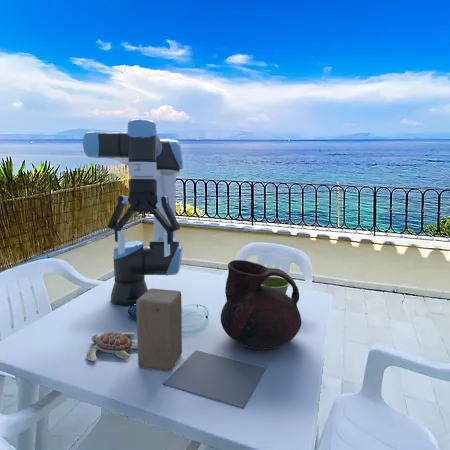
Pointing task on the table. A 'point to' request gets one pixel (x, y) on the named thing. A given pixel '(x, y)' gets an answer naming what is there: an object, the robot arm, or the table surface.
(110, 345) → the decorative turtle
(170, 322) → the wooden block
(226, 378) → the mat
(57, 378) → the table surface
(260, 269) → the jug
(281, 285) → the plant pot
